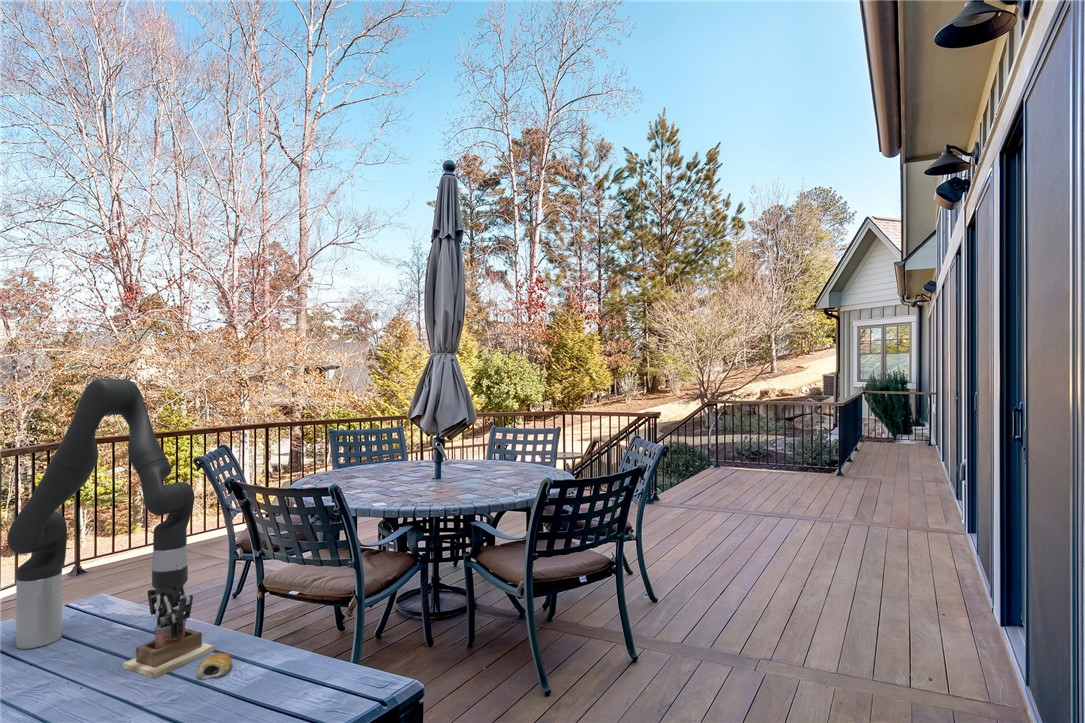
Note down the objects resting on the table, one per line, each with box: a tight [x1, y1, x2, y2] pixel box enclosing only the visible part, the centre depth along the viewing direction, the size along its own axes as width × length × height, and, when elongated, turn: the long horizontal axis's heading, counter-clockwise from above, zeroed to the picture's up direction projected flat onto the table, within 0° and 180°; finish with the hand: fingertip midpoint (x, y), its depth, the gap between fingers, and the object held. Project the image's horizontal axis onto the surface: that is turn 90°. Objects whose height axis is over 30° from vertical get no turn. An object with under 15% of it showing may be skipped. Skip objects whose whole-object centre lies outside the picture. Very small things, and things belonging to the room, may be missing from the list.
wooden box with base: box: [122, 627, 215, 679], centre depth 148 cm, size 12×15×5 cm
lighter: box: [154, 611, 187, 650], centre depth 148 cm, size 8×3×10 cm, turn 165°
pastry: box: [195, 652, 232, 680], centre depth 143 cm, size 9×7×4 cm
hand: (169, 634), depth 148 cm, fingers open, 5 cm apart
